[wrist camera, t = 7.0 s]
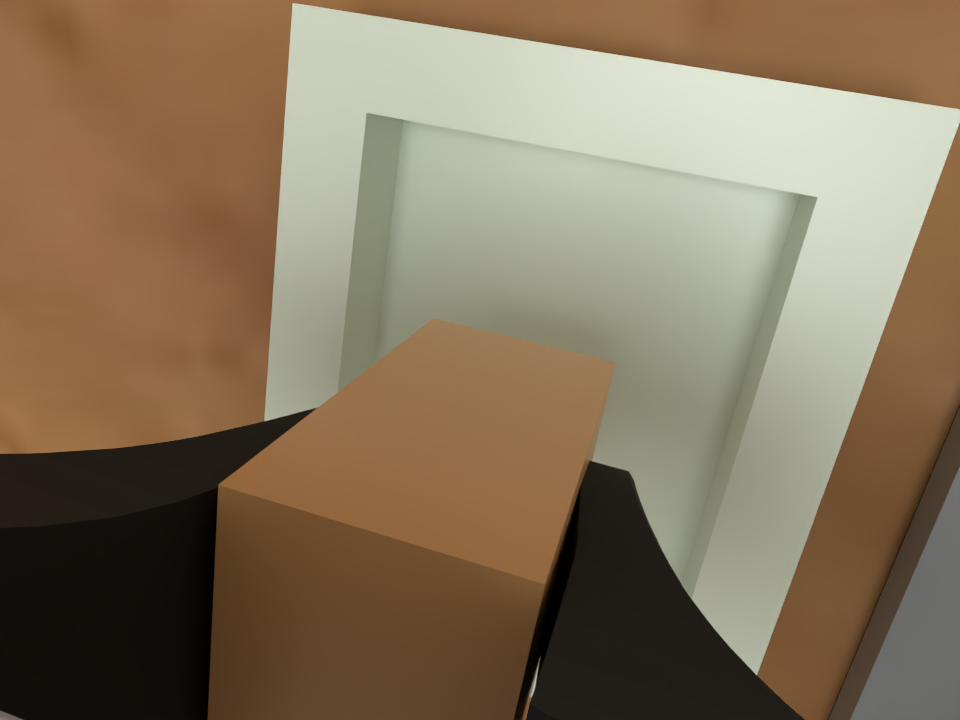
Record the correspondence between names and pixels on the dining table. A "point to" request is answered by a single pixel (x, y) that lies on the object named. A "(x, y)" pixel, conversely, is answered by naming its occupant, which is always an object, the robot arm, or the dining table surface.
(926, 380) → the dining table surface
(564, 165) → the tray
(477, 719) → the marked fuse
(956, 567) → the block
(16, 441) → the dining table surface
